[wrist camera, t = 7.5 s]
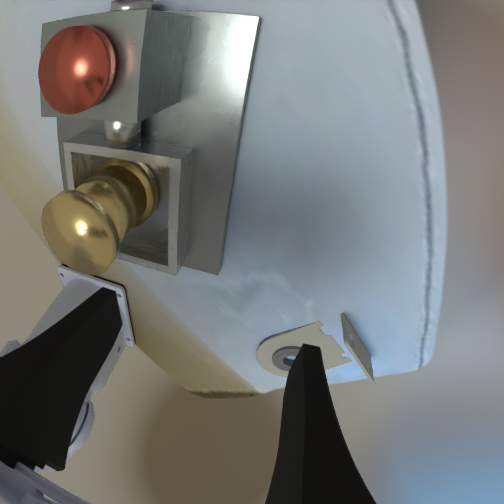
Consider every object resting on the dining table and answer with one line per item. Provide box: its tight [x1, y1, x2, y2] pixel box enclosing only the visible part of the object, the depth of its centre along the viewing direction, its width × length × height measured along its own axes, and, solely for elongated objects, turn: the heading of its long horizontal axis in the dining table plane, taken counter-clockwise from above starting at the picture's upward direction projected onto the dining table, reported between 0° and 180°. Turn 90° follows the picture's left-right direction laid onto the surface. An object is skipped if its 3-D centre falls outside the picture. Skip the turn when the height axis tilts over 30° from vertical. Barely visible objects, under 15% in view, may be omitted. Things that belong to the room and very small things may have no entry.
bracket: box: [256, 313, 374, 382], centre depth 26 cm, size 7×10×4 cm, turn 125°
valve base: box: [38, 0, 261, 275], centre depth 16 cm, size 18×13×7 cm
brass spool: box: [41, 157, 159, 275], centre depth 17 cm, size 5×5×6 cm
